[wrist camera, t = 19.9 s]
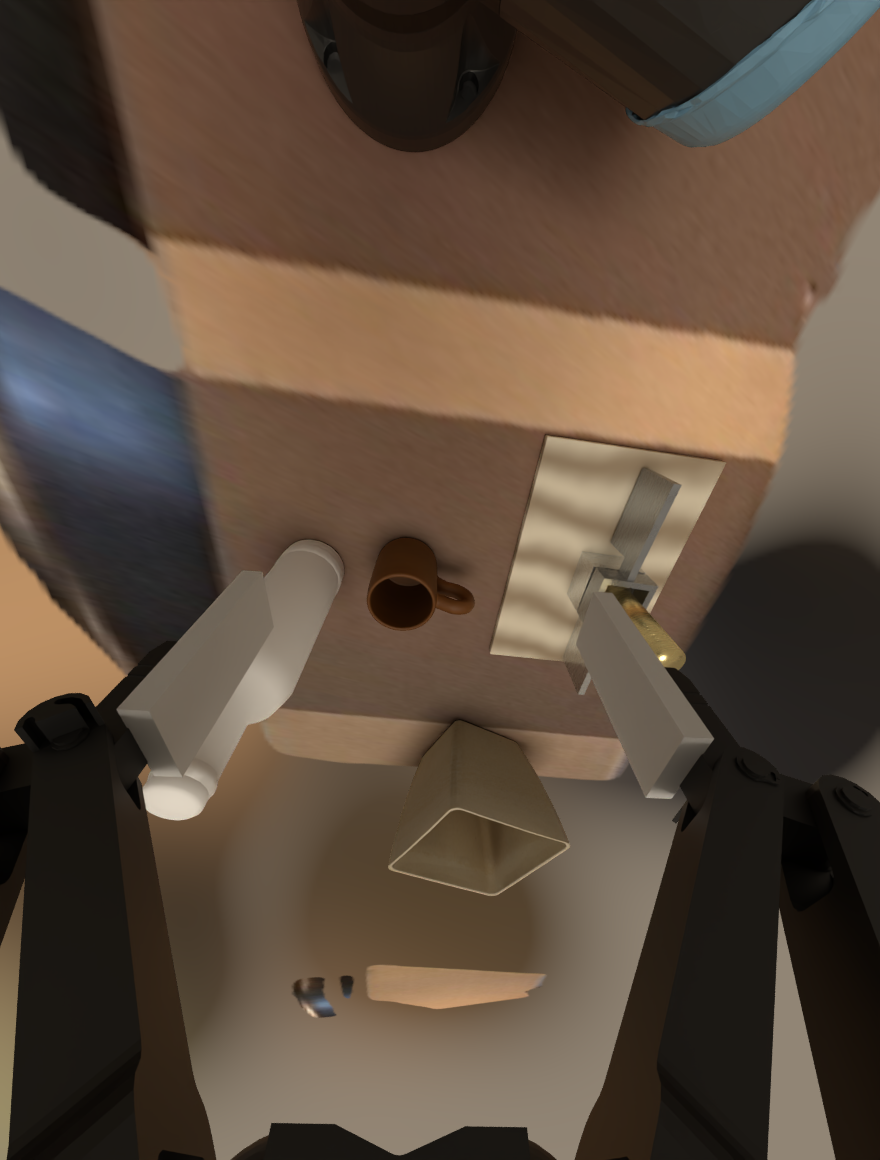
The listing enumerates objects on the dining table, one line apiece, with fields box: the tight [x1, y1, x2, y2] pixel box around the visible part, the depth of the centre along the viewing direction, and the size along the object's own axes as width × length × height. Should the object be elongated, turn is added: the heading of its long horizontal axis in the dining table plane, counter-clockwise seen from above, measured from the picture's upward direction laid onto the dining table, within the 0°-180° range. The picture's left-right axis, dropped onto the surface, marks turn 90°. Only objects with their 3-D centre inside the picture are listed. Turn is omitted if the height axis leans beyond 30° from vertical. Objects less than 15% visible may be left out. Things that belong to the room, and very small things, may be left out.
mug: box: [367, 538, 475, 631], centre depth 44 cm, size 12×8×9 cm, turn 79°
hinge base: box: [562, 551, 646, 695], centre depth 45 cm, size 26×6×7 cm, turn 172°
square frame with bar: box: [577, 468, 682, 622], centre depth 42 cm, size 17×6×6 cm, turn 170°
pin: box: [605, 585, 686, 670], centre depth 41 cm, size 3×3×16 cm
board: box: [489, 435, 726, 661], centre depth 48 cm, size 30×20×1 cm, turn 172°
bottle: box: [142, 539, 344, 820], centre depth 35 cm, size 8×8×30 cm
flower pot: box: [388, 720, 570, 896], centre depth 60 cm, size 19×19×17 cm
